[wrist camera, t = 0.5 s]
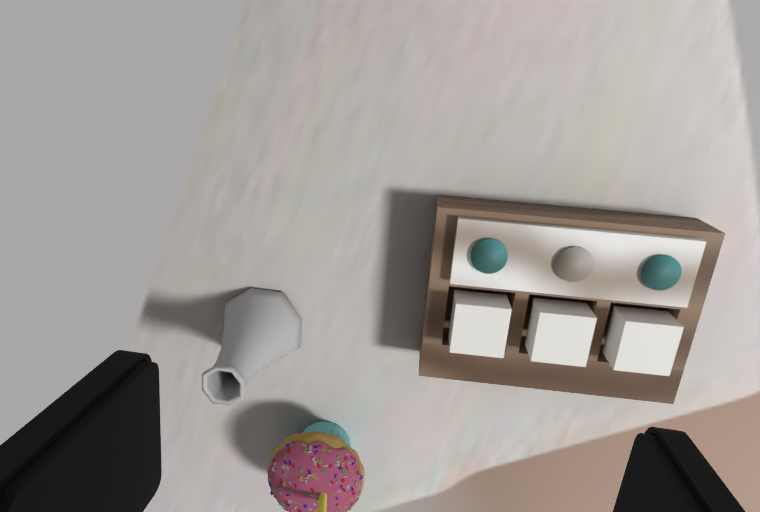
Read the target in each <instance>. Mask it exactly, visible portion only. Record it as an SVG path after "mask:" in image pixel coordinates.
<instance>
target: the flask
mask: <svg viewBox="0 0 760 512" xmlns="http://www.w3.org/2000/svg"><path fill="white" fill-rule="evenodd" d="M301 325H302V318H301V317H300V315H299V314H298V312H297V311H296V309H295V308H294V307H293V305H292V304H291V302H290V301H289V299H288V298H287V296H286V295H285V294H284V292H278V291H270V290H262V289H254V288H250V289H249V290H247V291H245V292H243V293H242V294H240V295H238V296H236V297H234V298H233V299H231V300H229V301H227V302H226V303H225V311H224V329H223V338H222V347H221V350H220V353H219V356H218V359H217V361H216V363H215V364H214V366H213V367H212V368H210V369H209V370H207V371H205V372H203V373H202V390H203V392H204V393H205V394H206V395H207V397H208V398H209V399H210V401H211V402H212V403H216V404H223V405H231V404H233V403H235V402H237V401H239V400H241V399H243V398H244V397H245V387H246V385H247V383H248V382H249V380H250V379H251V378H252V377H254V376H255V375H256V374H257V373H258V372H259V371H260V370H261V369H263V368H265V367H266V366H268V365H270V364H271V363H273V362H275V361H276V360H278V359H280V358H282V357H284V356H286V355H287V354H289V353H291V352H293V351H295V350H297V349H298V348H300V343H301Z"/></svg>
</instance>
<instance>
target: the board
mask: <svg viewBox="0 0 760 512" xmlns="http://www.w3.org/2000/svg"><path fill="white" fill-rule="evenodd" d="M724 235H725V233H723V232H722V231H720V230H718V229H716V228H714V227H712V226H710V225H708V224H707V223H705V222H703V221H701V220H699V219H696V218H685V217H674V216H663V215H652V214H640V213H629V212H618V211H607V210H596V209H585V208H574V207H563V206H551V205H540V204H529V203H518V202H507V201H496V200H485V199H474V198H462V197H451V196H440V195H437V199H436V208H435V217H434V226H433V235H432V244H431V253H430V262H429V271H428V280H427V290H426V299H425V308H424V317H423V326H422V335H421V344H420V358H419V376H427V377H436V378H445V379H454V380H463V381H472V382H481V383H490V384H499V385H508V386H517V387H526V388H535V389H544V390H553V391H562V392H571V393H580V394H589V395H598V396H607V397H616V398H625V399H634V400H643V401H652V402H661V403H670V404H673V403H674V400H675V397H676V393H677V390H678V387H679V383H680V380H681V377H682V374H683V370H684V367H685V364H686V360H687V357H688V354H689V351H690V347H691V344H692V341H693V337H694V334H695V331H696V328H697V324H698V321H699V318H700V314H701V311H702V308H703V304H704V301H705V298H706V295H707V291H708V288H709V285H710V281H711V278H712V275H713V272H714V268H715V265H716V262H717V258H718V255H719V252H720V248H721V245H722V242H723V239H724ZM454 290H461V291H470V292H480V293H490V294H500V295H507V297H508V300H509V303H510V306H511V308H512V312H511V318H510V323H509V329H508V335H507V341H506V347H505V353H504V358H496V357H486V356H477V355H468V354H459V353H450V351H449V338H448V335H449V328H450V320H451V312H452V304H453V297H454ZM533 298H540V299H550V300H560V301H570V302H580V303H587V304H588V306H589V307H590V309H591V310H592V312H593V313H594V314H595V316H596V317H597V321H596V325H595V329H594V334H593V338H592V342H591V347H590V351H589V355H588V360H587V364H586V367H579V366H570V365H561V364H551V363H542V362H533V361H530V358H529V355H528V352H527V349H526V346H525V340H526V335H527V329H528V324H529V318H530V313H531V308H532V302H533ZM614 306H620V307H629V308H639V309H649V310H659V311H668V312H669V313H670V314H671V315H672V316H673V317H674V318H675V319H676V320H677V321H678V322H679V323H680V324H681V325H682V326H683V327H684V329H683V332H682V336H681V339H680V342H679V346H678V349H677V353H676V356H675V359H674V363H673V366H672V370H671V373H670V376H662V375H653V374H644V373H635V372H625V371H616V370H613V369H612V367H611V365H610V364H609V362H608V361H607V359H606V357H605V356H604V354H603V353H602V352H603V348H604V344H605V340H606V336H607V332H608V327H609V323H610V319H611V315H612V311H613V307H614Z"/></svg>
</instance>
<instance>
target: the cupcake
mask: <svg viewBox="0 0 760 512" xmlns="http://www.w3.org/2000/svg"><path fill="white" fill-rule="evenodd" d="M267 471H268V480H269V481H268V482H269V486H270V488H271V492H270V493H271V495H274V498H276V499H277V501H278V502H279V505H281V506H282V507H283V509H284V508H285V509H284V510H286V509H287V510H286V511H290V512H347V511H348V510H351V509H350V508H351V507H352V506H353V505H354V504H355V503H356V502H357V500H358V499H359V496H360V494H361V491H362V488H363V483H364V467H363V465H362V464H361V462H360V459H359V456H358V454H357V452H356V451H355V450H353V449H352V448H351V444H350V439H349V437H348V435H347V433H346V432H345V431H344V430H343V429H342V428H341V427H340V426H338V425H336V424H334V423H331V422H325V421H321V422H316V423H313V424H311V425H309V426H308V427H306V428H305V429H304V431H303V432H302V433H299V434H292V435H290V436H289V437H287V438H286V439H285V440H284V441H282V442H281V443H280V444H278V445H277V446H276V447H275V449H274V451H273V453H272V456H271V459H270V462H269V466H268V470H267Z"/></svg>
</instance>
